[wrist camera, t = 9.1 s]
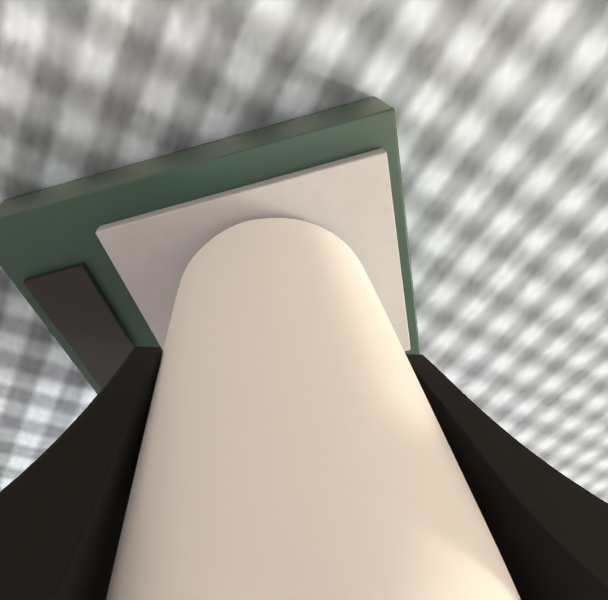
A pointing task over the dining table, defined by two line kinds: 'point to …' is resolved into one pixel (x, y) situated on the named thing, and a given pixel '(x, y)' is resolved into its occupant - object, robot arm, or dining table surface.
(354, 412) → the can
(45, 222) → the scale
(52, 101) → the dining table surface
